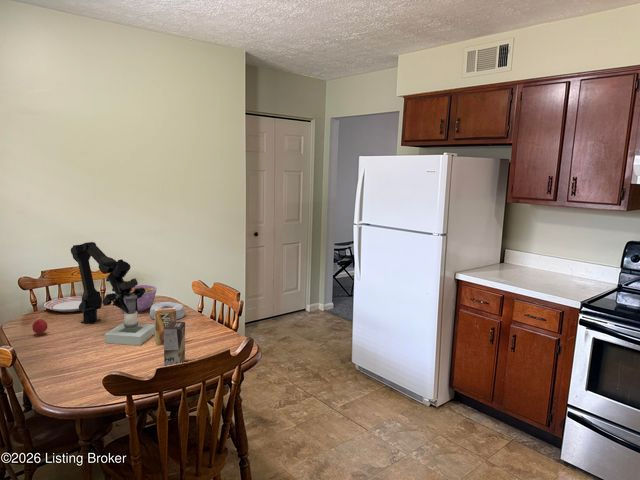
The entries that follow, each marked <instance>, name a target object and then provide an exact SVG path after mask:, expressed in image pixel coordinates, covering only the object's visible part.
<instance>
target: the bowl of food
mask: <svg viewBox="0 0 640 480" xmlns="http://www.w3.org/2000/svg"><path fill="white" fill-rule="evenodd" d="M141 287H143V288H144V289H145V290H146V292H145V293H144V295H143V296H142V297H141V298H138V299H137V308H138V310H137V312H139V313H140V312H144V311H145V310H147V309H149V308H151V307H152V305H153V304H154V301H155V298H156V295H157V294H156V293H157V289H158V288H157V287H156V286H154V285H150V284H149V285H148V284H138V285H136V286H135V287H133V288H132V290H131V291H130V292H134V290H135V289H136V288H141ZM123 299H124V298H123ZM124 303H125V304H126V299H124Z"/></svg>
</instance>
